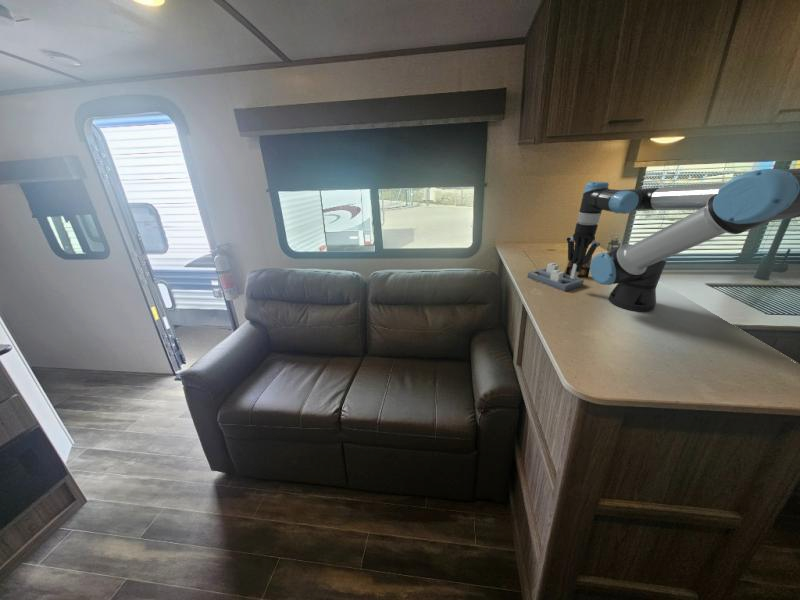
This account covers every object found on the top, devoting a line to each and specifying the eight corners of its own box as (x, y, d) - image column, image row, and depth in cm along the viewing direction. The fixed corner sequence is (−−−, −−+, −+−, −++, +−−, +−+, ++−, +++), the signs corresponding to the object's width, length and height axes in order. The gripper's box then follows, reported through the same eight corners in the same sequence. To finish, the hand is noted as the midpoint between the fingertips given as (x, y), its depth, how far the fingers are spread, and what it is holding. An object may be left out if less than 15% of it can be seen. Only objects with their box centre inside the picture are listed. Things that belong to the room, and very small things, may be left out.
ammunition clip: (564, 276, 149) (569, 253, 144) (563, 275, 151) (568, 251, 146) (588, 277, 147) (594, 253, 142) (586, 276, 149) (592, 252, 144)
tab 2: (561, 282, 138) (564, 271, 135) (557, 283, 136) (559, 272, 134) (553, 279, 141) (556, 268, 139) (549, 281, 140) (551, 269, 137)
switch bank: (582, 285, 138) (584, 279, 137) (564, 291, 132) (565, 285, 131) (545, 272, 154) (546, 267, 153) (527, 277, 148) (528, 271, 147)
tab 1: (556, 274, 147) (559, 264, 144) (552, 276, 145) (555, 265, 143) (549, 272, 150) (551, 261, 148) (545, 273, 149) (547, 262, 146)
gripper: (609, 224, 117) (593, 281, 127) (577, 219, 127) (565, 271, 137) (598, 227, 114) (582, 284, 124) (566, 221, 124) (554, 274, 134)
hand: (573, 277), depth 131 cm, fingers closed
